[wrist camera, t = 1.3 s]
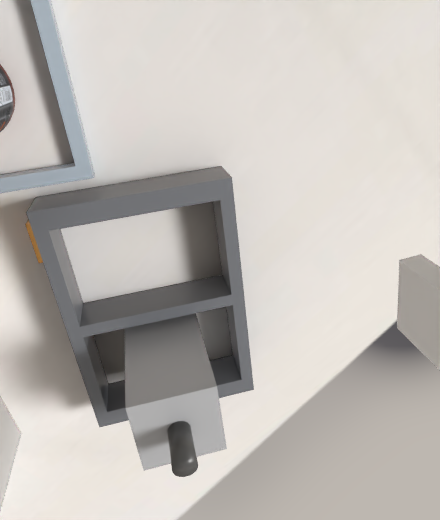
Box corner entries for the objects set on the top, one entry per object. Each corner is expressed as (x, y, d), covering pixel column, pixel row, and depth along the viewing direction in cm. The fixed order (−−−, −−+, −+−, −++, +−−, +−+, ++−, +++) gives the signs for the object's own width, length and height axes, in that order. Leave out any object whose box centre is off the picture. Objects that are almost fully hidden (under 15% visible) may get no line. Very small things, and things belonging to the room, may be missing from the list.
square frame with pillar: (28, 198, 31) (-34, 292, 18) (221, 166, 33) (282, 231, 20) (95, 399, 40) (84, 553, 27) (243, 365, 42) (295, 493, 29)
